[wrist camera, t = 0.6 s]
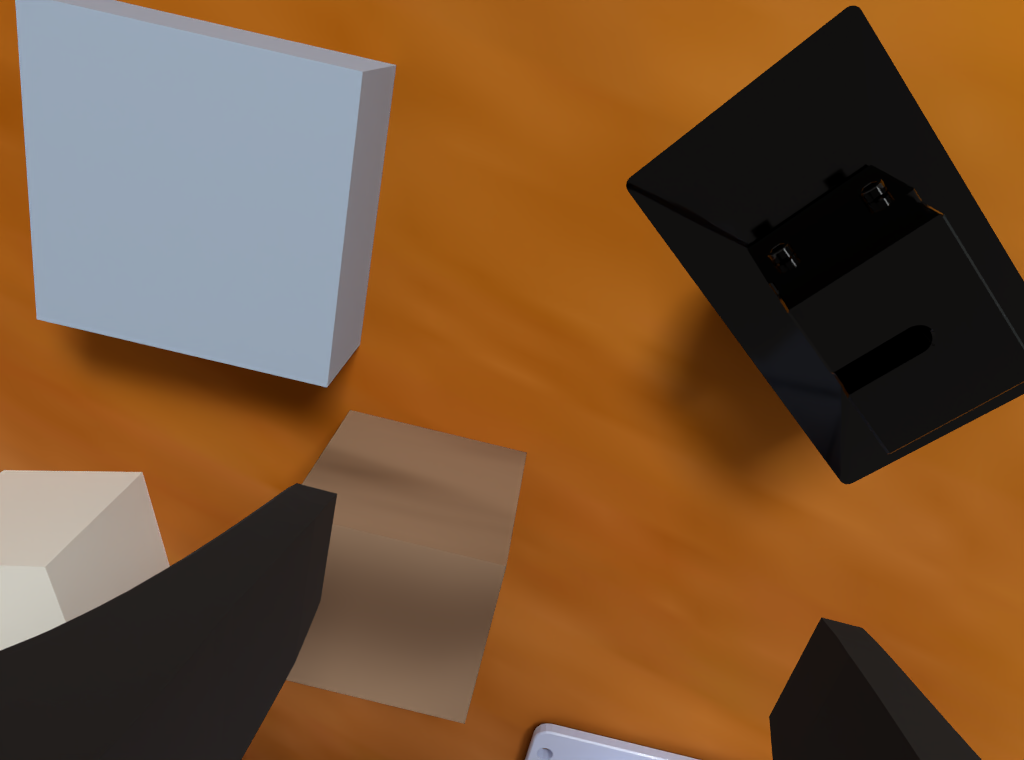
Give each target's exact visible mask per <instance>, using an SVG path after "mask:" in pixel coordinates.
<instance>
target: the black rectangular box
mask: <svg viewBox="0 0 1024 760" xmlns="http://www.w3.org/2000/svg"><path fill="white" fill-rule="evenodd" d="M626 187H627V190H628V192H629V193H630V194H631V196H632V197H633V198H634V200H635V201H636V203H637V204H638V205H639V207H640V208H641V209H642V211H643V212H644V213H645V215H646V216H647V218H648V219H649V220H650V222H651V223H652V224H653V226H654V227H655V228H656V230H657V231H658V233H659V234H660V235H661V237H662V238H663V239H664V241H665V242H666V243H667V245H668V246H669V248H670V249H671V250H672V252H673V253H674V254H675V256H676V257H677V258H678V260H679V261H680V263H681V264H682V265H683V267H684V268H685V269H686V271H687V272H688V273H689V275H690V276H691V278H692V279H693V280H694V282H695V283H696V284H697V286H698V287H699V288H700V290H701V291H702V293H703V294H704V295H705V297H706V298H707V299H708V301H709V302H710V303H711V305H712V306H713V308H714V309H715V310H716V312H717V313H718V314H719V316H720V317H721V319H722V320H723V321H724V323H725V324H726V325H727V327H728V328H729V329H730V331H731V332H732V334H733V335H734V336H735V338H736V339H737V340H738V342H739V343H740V344H741V346H742V347H743V349H744V350H745V351H746V353H747V354H748V355H749V357H750V358H751V359H752V361H753V362H754V364H755V365H756V366H757V368H758V369H759V370H760V372H761V373H762V374H763V376H764V377H765V379H766V380H767V381H768V383H769V384H770V385H771V387H772V388H773V389H774V391H775V392H776V394H777V395H778V396H779V398H780V399H781V400H782V402H783V403H784V404H785V406H786V407H787V409H788V410H789V411H790V413H791V414H792V415H793V417H794V418H795V419H796V421H797V422H798V424H799V425H800V426H801V428H802V429H803V430H804V432H805V433H806V434H807V436H808V437H809V439H810V440H811V441H812V443H813V444H814V445H815V447H816V448H817V450H818V451H819V452H820V454H821V455H822V456H823V458H824V459H825V460H826V462H827V463H828V465H829V466H830V467H831V469H832V470H833V471H834V473H835V474H836V475H837V477H838V478H839V480H840V481H841V482H842V483H844V484H851V483H853V482H855V481H857V480H859V479H861V478H863V477H865V476H867V475H869V474H871V473H873V472H875V471H877V470H878V469H880V468H882V467H884V466H886V465H888V464H890V463H892V462H894V461H896V460H898V459H900V458H902V457H903V456H905V455H907V454H909V453H911V452H913V451H915V450H917V449H919V448H921V447H923V446H925V445H927V444H928V443H930V442H932V441H934V440H936V439H938V438H940V437H942V436H944V435H946V434H948V433H950V432H952V431H953V430H955V429H957V428H959V427H961V426H963V425H965V424H967V423H969V422H971V421H973V420H975V419H977V418H978V417H980V416H982V415H984V414H986V413H988V412H990V411H992V410H994V409H996V408H998V407H1000V406H1001V405H1003V404H1005V403H1007V402H1009V401H1011V400H1013V399H1015V398H1017V397H1019V396H1021V395H1023V394H1024V281H1023V279H1022V278H1021V276H1020V274H1019V273H1018V271H1017V269H1016V268H1015V266H1014V264H1013V263H1012V261H1011V259H1010V258H1009V256H1008V254H1007V253H1006V251H1005V249H1004V248H1003V246H1002V244H1001V243H1000V241H999V239H998V238H997V236H996V234H995V233H994V231H993V229H992V228H991V226H990V224H989V223H988V221H987V219H986V218H985V216H984V214H983V213H982V211H981V209H980V208H979V206H978V204H977V203H976V201H975V199H974V198H973V196H972V194H971V193H970V191H969V189H968V188H967V186H966V184H965V183H964V181H963V179H962V178H961V176H960V174H959V172H958V171H957V169H956V167H955V166H954V164H953V162H952V161H951V159H950V157H949V156H948V154H947V152H946V151H945V149H944V147H943V146H942V144H941V142H940V141H939V139H938V137H937V136H936V134H935V132H934V131H933V129H932V127H931V126H930V124H929V122H928V121H927V119H926V117H925V116H924V114H923V112H922V111H921V109H920V107H919V106H918V104H917V102H916V101H915V99H914V97H913V96H912V94H911V92H910V91H909V89H908V87H907V86H906V84H905V82H904V81H903V79H902V77H901V76H900V74H899V72H898V71H897V69H896V67H895V66H894V64H893V62H892V61H891V59H890V57H889V56H888V54H887V52H886V51H885V49H884V47H883V46H882V44H881V42H880V41H879V39H878V37H877V36H876V34H875V32H874V31H873V29H872V27H871V26H870V24H869V22H868V21H867V19H866V17H865V15H864V14H863V12H862V10H861V9H860V8H859V7H857V6H849V7H847V8H846V9H844V10H843V11H842V12H840V13H839V14H838V15H837V16H835V17H834V18H833V19H832V20H830V21H829V22H828V23H826V24H825V25H824V26H823V27H821V28H820V29H819V30H817V31H816V32H815V33H814V34H812V35H811V36H810V37H809V38H807V39H806V40H805V41H803V42H802V43H801V44H800V45H798V46H797V47H796V48H795V49H793V50H792V51H791V52H789V53H788V54H787V55H786V56H784V57H783V58H782V59H781V60H779V61H778V62H777V63H775V64H774V65H773V66H772V67H770V68H769V69H768V70H767V71H765V72H764V73H763V74H761V75H760V76H759V77H758V78H756V79H755V80H754V81H752V82H751V83H750V84H749V85H747V86H746V87H745V88H744V89H742V90H741V91H740V92H738V93H737V94H736V95H735V96H733V97H732V98H731V99H730V100H728V101H727V102H726V103H724V104H723V105H722V106H721V107H719V108H718V109H717V110H716V111H714V112H713V113H712V114H710V115H709V116H708V117H707V118H705V119H704V120H703V121H702V122H700V123H699V124H698V125H696V126H695V127H694V128H693V129H691V130H690V131H689V132H687V133H686V134H685V135H684V136H682V137H681V138H680V139H679V140H677V141H676V142H675V143H673V144H672V145H671V146H670V147H668V148H667V149H666V150H665V151H663V152H662V153H661V154H659V155H658V156H657V157H656V158H654V159H653V160H652V161H651V162H649V163H648V164H647V165H645V166H644V167H643V168H642V169H640V170H639V171H638V172H636V173H635V174H634V175H633V176H631V177H630V178H629V179H628V181H627V184H626Z"/></svg>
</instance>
